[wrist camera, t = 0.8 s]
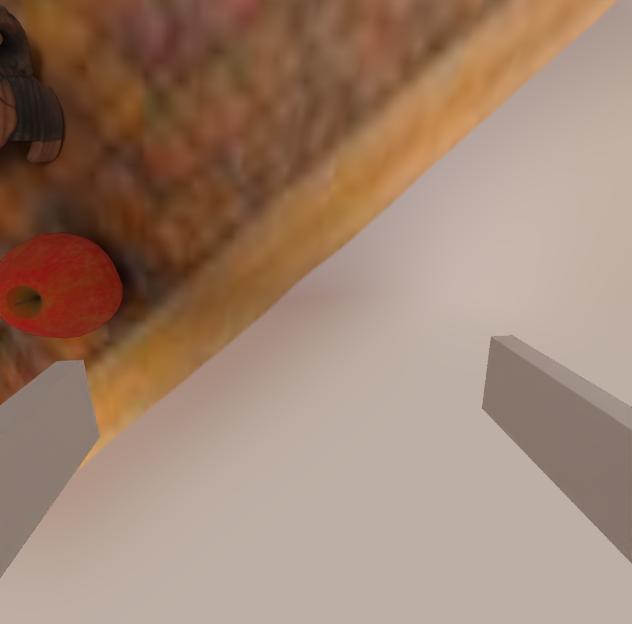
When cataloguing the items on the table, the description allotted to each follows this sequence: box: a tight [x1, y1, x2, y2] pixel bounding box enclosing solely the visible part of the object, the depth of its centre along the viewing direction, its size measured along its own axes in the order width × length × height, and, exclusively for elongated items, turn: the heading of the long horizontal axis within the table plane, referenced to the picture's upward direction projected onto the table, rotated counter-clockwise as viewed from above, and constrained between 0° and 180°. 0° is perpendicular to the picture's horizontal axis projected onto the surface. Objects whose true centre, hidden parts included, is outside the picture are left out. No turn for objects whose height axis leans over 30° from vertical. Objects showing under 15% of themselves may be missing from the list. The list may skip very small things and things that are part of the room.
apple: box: [0, 233, 123, 338], centre depth 30 cm, size 8×8×11 cm
